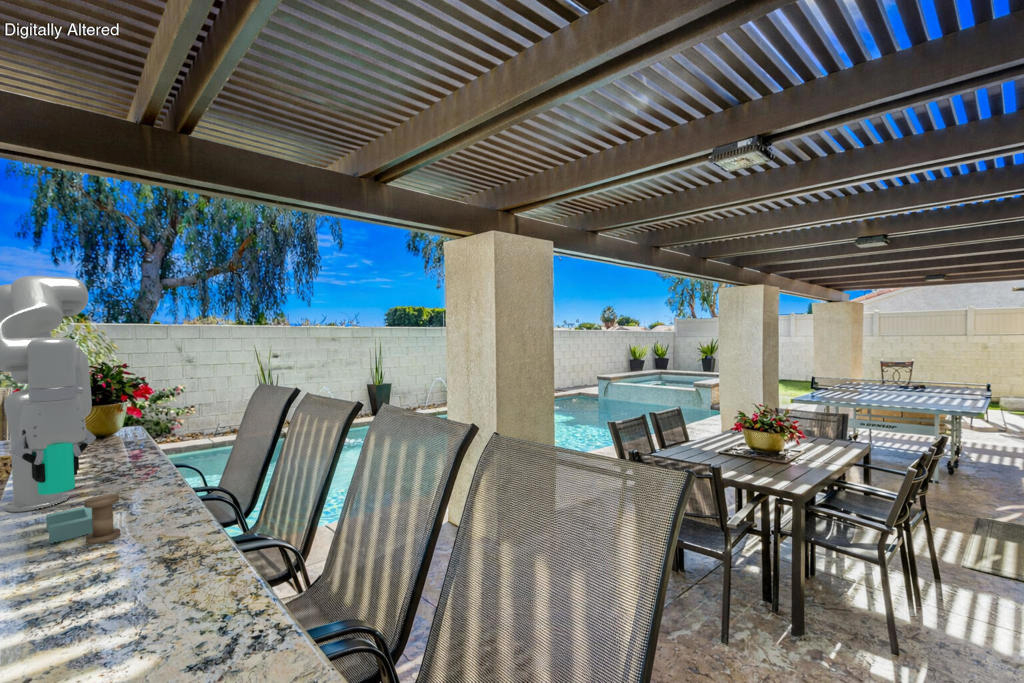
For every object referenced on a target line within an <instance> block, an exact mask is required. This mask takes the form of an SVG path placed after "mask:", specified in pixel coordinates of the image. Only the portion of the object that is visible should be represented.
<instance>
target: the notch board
mask: <svg viewBox="0 0 1024 683" xmlns="http://www.w3.org/2000/svg"><path fill="white" fill-rule="evenodd" d="M45 520H46V532H47V531H48V536H49V537H48V538H49V540H48V541H49V544H50V543H51V544H55V543H54V542H56V543H59V541H60V542H64V541H68V540H72V539H75V537H76V538H79V537H78V536H81V537H83V536H82V535H85V536H87V535H86V534H91V533H93V530H92V508H86V507H84V506H81V507H76V508H72V509H66V510H61V511H57V512H52V513H47V514H45Z"/></svg>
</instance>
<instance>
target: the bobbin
mask: <svg viewBox="0 0 1024 683" xmlns="http://www.w3.org/2000/svg"><path fill="white" fill-rule="evenodd" d="M119 501H120V494H119V493H118V494H117V493H111V494H109V493H108V494H102V495H97V496H94V497H90V498H87V499H85V500H84V501H83V507H86V508H92V530H93V533H91V534H89V535H85V543H86V544H87V543H88V545H95V544H96V545H97V543H98V544H102V543H106V542H107V543H108V542H110V541H113V540H115V539H117V538H119V537H120V536H121V529H120V528H116V527H115V528H114V508H113V506H114V504H116V503H118V502H119Z"/></svg>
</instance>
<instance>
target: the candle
mask: <svg viewBox="0 0 1024 683" xmlns="http://www.w3.org/2000/svg"><path fill="white" fill-rule="evenodd" d="M41 464H45V482H43V483H40V482H38V494H41V495H49V494H56V493H61V492H64V493H66V492H68V491H70V490H73V489H75V487H76V475H74V452H73V443H64V444H56V445H49V446H47V448H46V449H44V450H43V460H42V463H41Z"/></svg>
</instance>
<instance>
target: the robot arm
mask: <svg viewBox="0 0 1024 683" xmlns="http://www.w3.org/2000/svg"><path fill="white" fill-rule="evenodd" d="M88 302H89V292H88V288H87V286H86V284H85V283H84V282H83V281H82V280H81V279H78V278H76V277H75V278H74V277H66V276H65V277H64V276H51V275H50V276H46V275H27V276H22V277H18V278H17V279H15V280H14V281H13V282H12V283H9V284H8V283H7V284H1V285H0V371H1V372H6V373H10V376H11V379H12V380H13V382H15V383H17V384H20V385H21V384H23V385H28V388H27V389H23V390H18V391H14V392H13V393H10V394H9V395H8V396H7V397H6V398H5V400H4V403H3V405H4V406H3V407H4V413H5V416H6V421H7V425H8V426H7V427H8V431H9V437H10V438H9V441H10V450H9V452H8V453H9V454H10V455H11V456H10V457H11V475H12V476H11V477H12V478H11V479H12V497H13V498H12V499H13V501H10V502H8V503H7V504H6V505H5V506H4V510H5V511H6V512H10V513H18V512H19V513H21V512H29V511H36V510H40V509H39V508H41V509H45V508H44V507H46V508H48V507H47V506H50V507H52V506H51V505H53V504H56V503H59V502H62V501H65V500H66V501H68V500H69V499H70V493H68V492H61V493H56V494H49V495H41V494H38V482H40V483H43V482H45V464H41V463H42V460H43V450H44V449H46V448H47V446H49V445H56V444H64V443H73V452H74V475H75V476H77V475H78V470H80V462H79V461H80V456H82V453H83V452H84V451H85V450H86V449H87V448H88V447H89V445H91V444H92V443H93V442H94V441H95V440H96V439H97V437H96V435H94V434H93V433H92V432H91V431H90V430H88V429H87V425H86V424H87V423H86V418H87V417H88V416H89V415H90V414H91V411H92V408H93V407H92V404H93V402H92V400H93V399H92V388H91V376H90V375H91V374H90V365H89V360H88V356H87V355H86V353H85V352H84V351H83V350H81V348H80V345H79V344H78V343H77V342H76V341H75V340H74V339H72V338H70V337H64V336H63V337H57V336H55V337H53V336H52V333H51V332H52V331H53V330H56V329H57V328H58V327H59V326H60V325H61V324H62V322H63V320H64V317H70V316H71V317H73V316H77V315H79V314H80V313H81V312H82V311H84V310H85V308H86V307H87V305H88ZM68 498H69V499H68ZM67 499H68V500H67ZM66 501H65V502H66ZM62 503H63V502H62ZM53 506H54V505H53ZM35 509H36V510H35Z"/></svg>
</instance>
